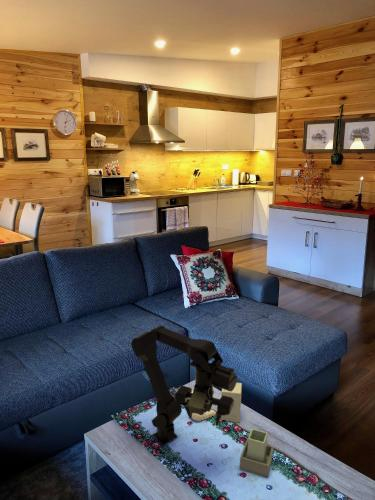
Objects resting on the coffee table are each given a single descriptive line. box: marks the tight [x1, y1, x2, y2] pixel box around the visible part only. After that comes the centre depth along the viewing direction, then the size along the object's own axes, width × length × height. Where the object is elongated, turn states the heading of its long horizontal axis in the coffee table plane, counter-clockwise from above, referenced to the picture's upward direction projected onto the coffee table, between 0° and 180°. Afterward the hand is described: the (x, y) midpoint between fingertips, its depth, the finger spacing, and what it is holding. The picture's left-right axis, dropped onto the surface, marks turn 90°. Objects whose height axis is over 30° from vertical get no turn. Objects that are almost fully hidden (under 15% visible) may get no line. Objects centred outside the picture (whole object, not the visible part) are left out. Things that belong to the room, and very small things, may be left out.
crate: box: [239, 438, 274, 479], centre depth 131 cm, size 9×9×4 cm
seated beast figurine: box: [191, 390, 217, 422], centre depth 153 cm, size 10×9×12 cm
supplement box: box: [220, 382, 243, 424], centre depth 153 cm, size 7×7×13 cm
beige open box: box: [247, 428, 268, 464], centre depth 130 cm, size 5×5×10 cm
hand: (203, 421), depth 132 cm, fingers open, 9 cm apart
